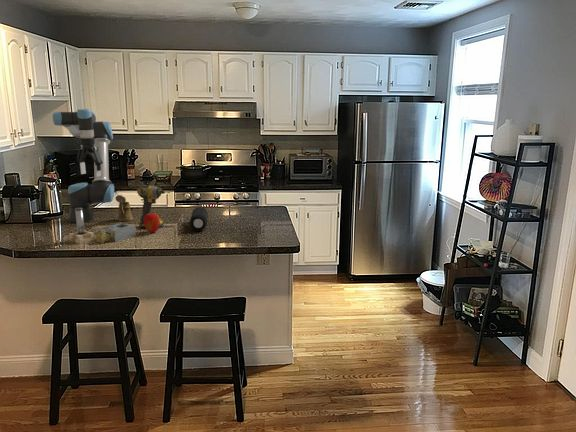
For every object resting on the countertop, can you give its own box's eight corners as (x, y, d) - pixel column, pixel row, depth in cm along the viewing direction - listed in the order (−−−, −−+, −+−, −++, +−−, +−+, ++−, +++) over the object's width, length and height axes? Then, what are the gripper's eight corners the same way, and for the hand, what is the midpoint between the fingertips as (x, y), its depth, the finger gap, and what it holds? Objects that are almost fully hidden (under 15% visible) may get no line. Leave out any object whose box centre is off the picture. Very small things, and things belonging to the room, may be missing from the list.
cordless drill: (167, 229, 282) (165, 188, 276) (136, 228, 286) (133, 186, 280) (174, 226, 291) (172, 185, 284) (144, 224, 294) (141, 184, 288)
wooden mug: (113, 223, 296) (111, 195, 291) (120, 218, 309) (118, 190, 305) (128, 223, 296) (126, 195, 292) (134, 218, 309) (132, 190, 305)
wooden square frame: (69, 241, 260) (68, 234, 259) (84, 237, 267) (83, 230, 266) (80, 243, 255) (79, 236, 254) (94, 239, 262) (93, 232, 261)
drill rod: (77, 240, 260) (73, 208, 256) (82, 239, 263) (79, 207, 259) (81, 241, 259) (77, 209, 254) (87, 240, 262) (83, 208, 257)
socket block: (102, 238, 264) (101, 228, 263) (122, 232, 276) (122, 222, 274) (115, 241, 259) (114, 231, 257) (136, 235, 270) (135, 225, 269)
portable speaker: (192, 221, 302) (191, 206, 299) (208, 221, 303) (207, 205, 300) (189, 232, 277) (189, 215, 275) (207, 232, 278) (206, 215, 276)
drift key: (96, 241, 258) (95, 234, 256) (112, 237, 266) (112, 229, 265) (102, 243, 255) (101, 235, 254) (118, 238, 264) (117, 230, 263)
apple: (160, 233, 274) (158, 213, 271) (143, 234, 272) (142, 214, 269) (161, 229, 282) (159, 209, 280) (145, 230, 281) (143, 210, 278)
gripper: (67, 136, 270) (71, 173, 275) (95, 139, 257) (99, 178, 263) (79, 135, 276) (83, 171, 282) (107, 138, 263) (110, 176, 269)
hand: (90, 175), depth 272 cm, fingers open, 13 cm apart
